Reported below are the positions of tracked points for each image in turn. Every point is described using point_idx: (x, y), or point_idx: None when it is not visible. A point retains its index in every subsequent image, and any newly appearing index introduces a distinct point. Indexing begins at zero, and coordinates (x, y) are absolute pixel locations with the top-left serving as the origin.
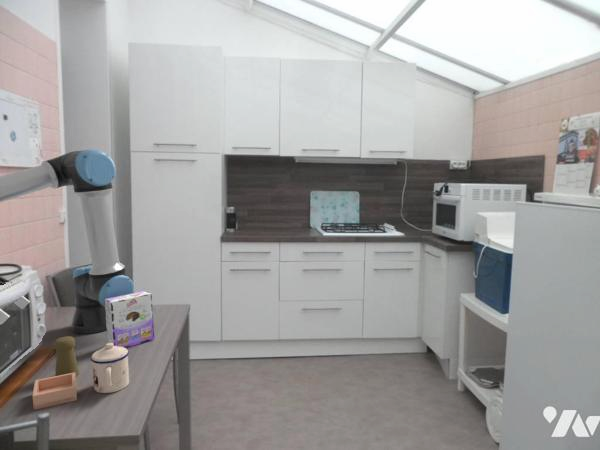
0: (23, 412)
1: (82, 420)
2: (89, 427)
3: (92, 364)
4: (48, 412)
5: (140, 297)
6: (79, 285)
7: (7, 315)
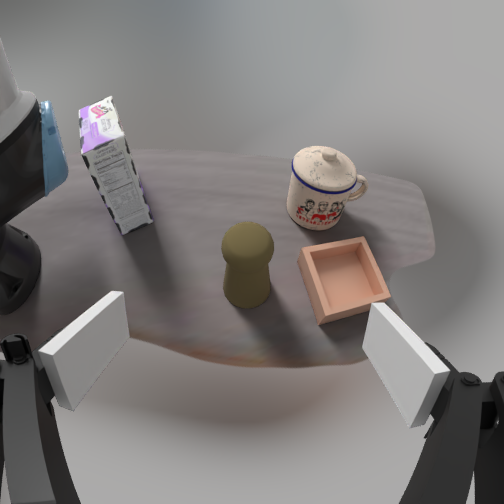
0: None
1: (406, 234)
2: (419, 224)
3: (335, 199)
4: (388, 282)
5: (115, 107)
6: None
7: (385, 306)
